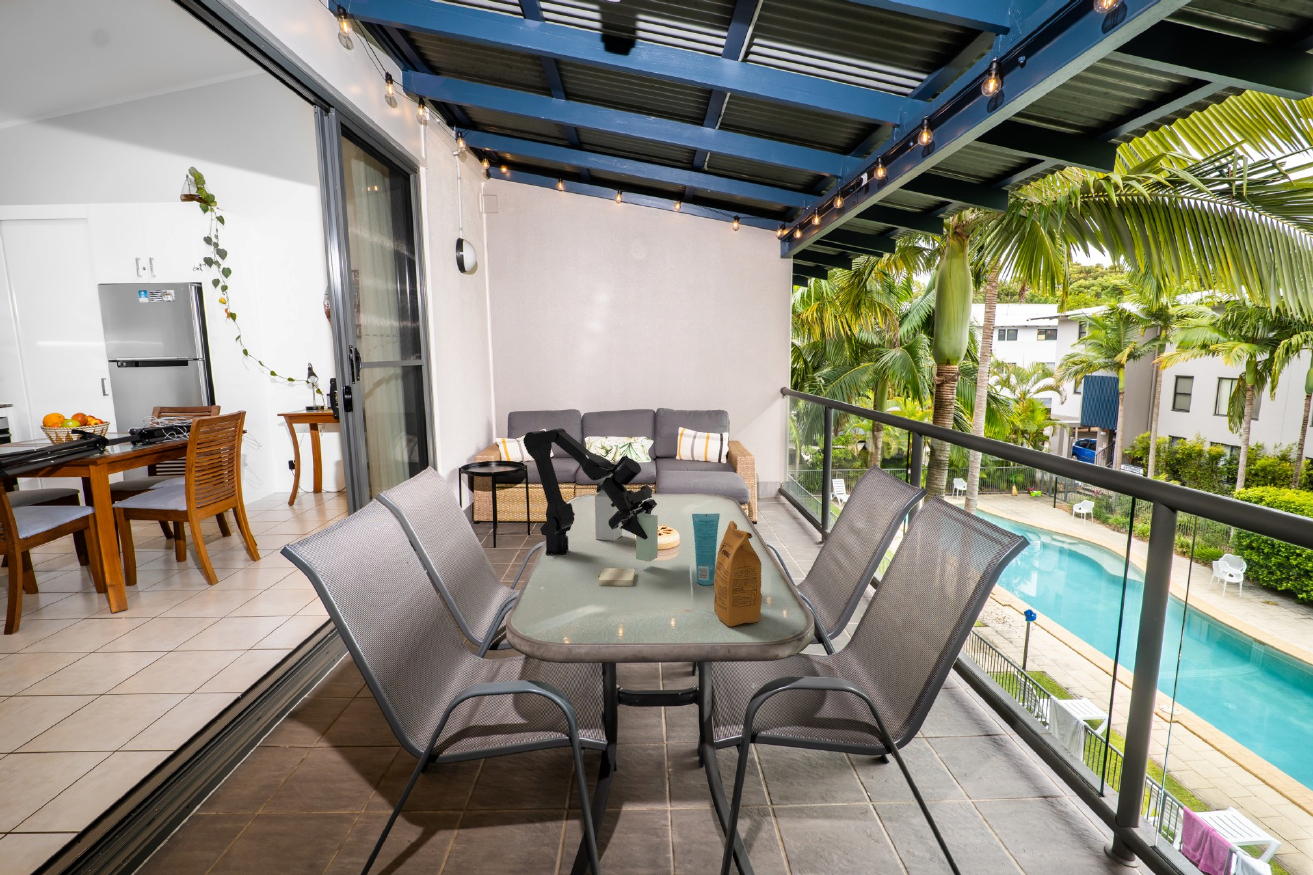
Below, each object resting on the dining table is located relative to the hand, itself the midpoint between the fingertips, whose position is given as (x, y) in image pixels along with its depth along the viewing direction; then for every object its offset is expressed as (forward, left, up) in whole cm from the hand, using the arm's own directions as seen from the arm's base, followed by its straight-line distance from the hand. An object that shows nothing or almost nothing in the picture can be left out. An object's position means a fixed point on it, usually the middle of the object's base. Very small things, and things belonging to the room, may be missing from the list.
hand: (650, 536), depth 173 cm
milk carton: (-11, +35, -10) cm, 38 cm away
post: (-1, +1, -7) cm, 7 cm away
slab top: (-10, -8, -9) cm, 16 cm away
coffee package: (+17, -34, -10) cm, 39 cm away
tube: (+14, -11, -10) cm, 21 cm away
